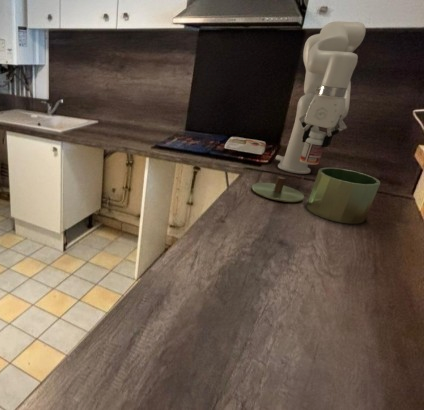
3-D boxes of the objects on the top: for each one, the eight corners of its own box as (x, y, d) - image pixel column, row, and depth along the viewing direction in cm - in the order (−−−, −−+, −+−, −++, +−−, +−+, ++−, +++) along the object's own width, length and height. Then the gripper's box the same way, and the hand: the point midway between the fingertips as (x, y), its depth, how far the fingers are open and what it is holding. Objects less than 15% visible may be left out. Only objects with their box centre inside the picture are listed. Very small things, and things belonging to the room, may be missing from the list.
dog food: (262, 160, 166) (265, 150, 164) (221, 153, 173) (223, 143, 171) (265, 146, 191) (267, 137, 189) (229, 141, 198) (231, 132, 196)
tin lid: (241, 189, 128) (245, 173, 126) (268, 183, 137) (272, 167, 134) (286, 207, 116) (291, 189, 113) (312, 198, 124) (318, 182, 122)
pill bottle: (321, 163, 130) (332, 133, 125) (312, 166, 127) (323, 135, 122) (304, 159, 135) (314, 129, 130) (295, 161, 132) (305, 130, 127)
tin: (297, 207, 116) (309, 171, 111) (321, 199, 124) (333, 165, 119) (349, 228, 104) (366, 188, 99) (372, 217, 112) (389, 180, 107)
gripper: (300, 89, 125) (285, 139, 133) (355, 96, 112) (335, 152, 120) (312, 88, 129) (296, 137, 136) (366, 95, 116) (345, 149, 123)
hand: (314, 143), depth 128 cm, fingers closed on pill bottle, 6 cm apart
